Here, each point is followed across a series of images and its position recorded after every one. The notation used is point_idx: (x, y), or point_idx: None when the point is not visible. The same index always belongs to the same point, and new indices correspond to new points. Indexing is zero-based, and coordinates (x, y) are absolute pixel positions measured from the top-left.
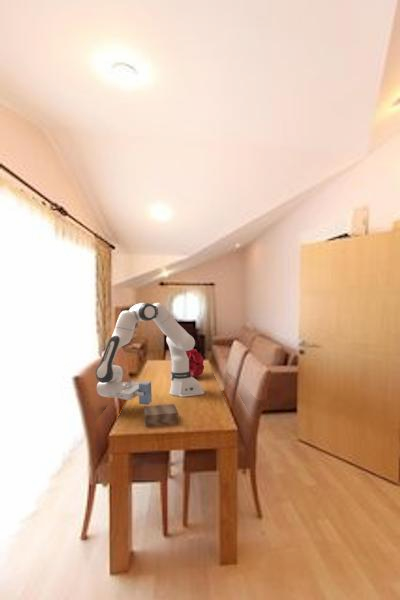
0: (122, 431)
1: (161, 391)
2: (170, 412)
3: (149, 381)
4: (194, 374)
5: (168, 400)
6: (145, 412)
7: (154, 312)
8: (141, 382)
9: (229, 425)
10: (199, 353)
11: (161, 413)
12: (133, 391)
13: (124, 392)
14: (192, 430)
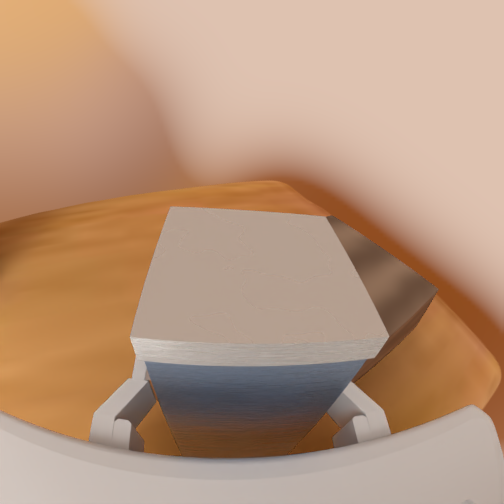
0: (487, 367)
1: None
2: (345, 232)
3: (218, 214)
4: None
5: (8, 355)
6: (420, 304)
7: None
8: (342, 292)
9: (260, 181)
10: None
11: (379, 251)
12: (421, 428)
13: (500, 474)
14: None
